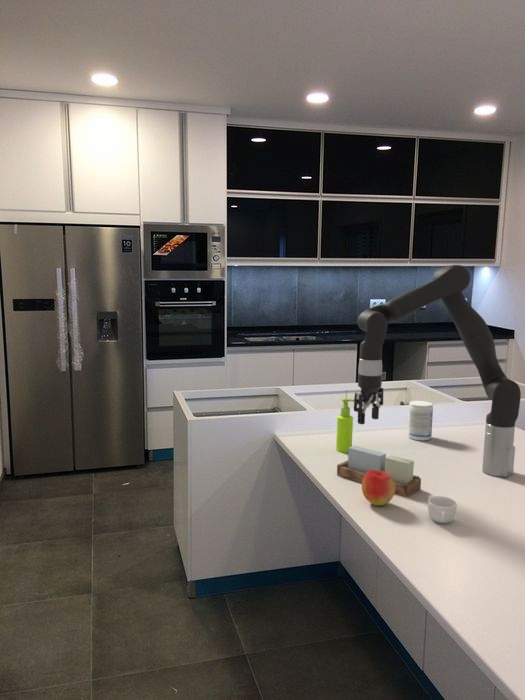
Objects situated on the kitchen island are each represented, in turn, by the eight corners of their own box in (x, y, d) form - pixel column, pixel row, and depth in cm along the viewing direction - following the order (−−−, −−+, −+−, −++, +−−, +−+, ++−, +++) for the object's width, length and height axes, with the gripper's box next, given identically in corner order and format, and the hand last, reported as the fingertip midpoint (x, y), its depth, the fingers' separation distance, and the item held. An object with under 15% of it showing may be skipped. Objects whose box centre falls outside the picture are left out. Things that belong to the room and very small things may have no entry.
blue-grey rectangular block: (384, 480, 186) (385, 453, 185) (378, 483, 183) (380, 456, 182) (353, 470, 194) (354, 445, 193) (347, 473, 191) (348, 447, 190)
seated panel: (412, 488, 179) (413, 461, 178) (406, 491, 177) (408, 463, 175) (389, 481, 185) (391, 455, 183) (384, 484, 182) (385, 457, 181)
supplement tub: (435, 441, 231) (437, 405, 228) (412, 441, 229) (414, 406, 227) (425, 434, 240) (427, 400, 238) (403, 434, 239) (405, 400, 237)
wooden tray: (420, 489, 180) (421, 477, 180) (407, 497, 174) (408, 484, 173) (350, 468, 197) (351, 457, 197) (336, 475, 191) (337, 463, 191)
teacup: (426, 512, 163) (427, 494, 162) (454, 515, 162) (455, 497, 161) (427, 528, 154) (429, 509, 153) (457, 531, 152) (458, 512, 151)
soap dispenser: (355, 452, 215) (357, 401, 212) (337, 452, 215) (338, 400, 212) (353, 447, 220) (355, 397, 217) (335, 447, 221) (337, 397, 218)
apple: (370, 512, 163) (371, 478, 161) (356, 499, 172) (357, 467, 170) (400, 508, 165) (401, 476, 164) (384, 496, 175) (386, 464, 173)
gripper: (368, 377, 176) (366, 428, 178) (391, 371, 186) (389, 419, 188) (348, 374, 181) (346, 423, 183) (371, 368, 191) (369, 415, 193)
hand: (368, 421), depth 186 cm, fingers open, 8 cm apart
